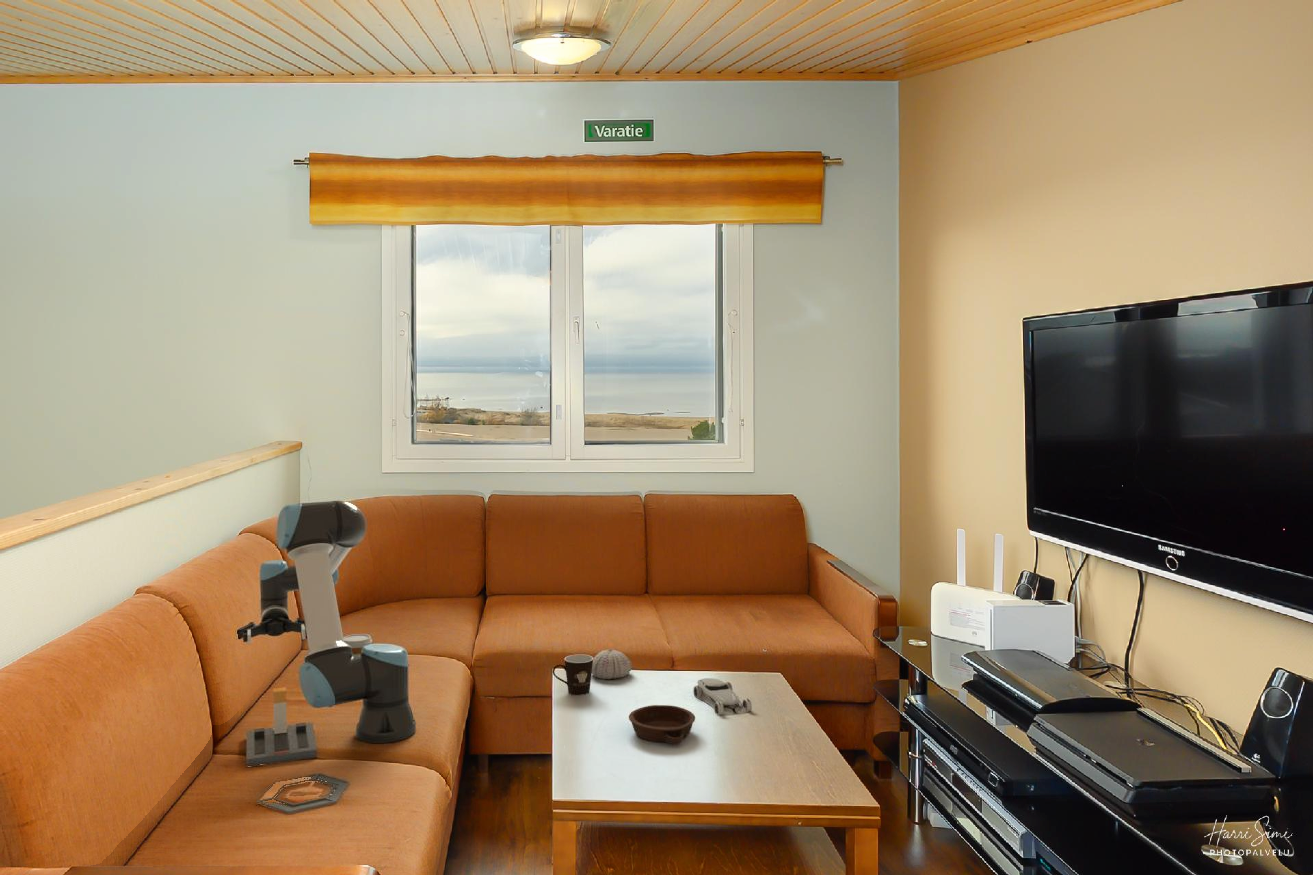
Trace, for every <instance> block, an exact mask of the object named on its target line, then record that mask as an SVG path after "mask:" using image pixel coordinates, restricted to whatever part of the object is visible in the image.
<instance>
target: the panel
mask: <svg viewBox="0 0 1313 875" xmlns="http://www.w3.org/2000/svg"><path fill="white" fill-rule="evenodd" d="M245 751H246V755H245V756H246V762H245V764H246V767H247V766H254V767H258V765H260V764H268V765H272V764H271V763H275V764H279V763H278V762H282V763H288V762H294V761H302V760H309V759H316V758H318V749H317V741H316V736H315V731H314V725H313V722H299V723H298V722H297V723H295V724H290V725H287V733H279V734H274V726H273V727H267V728H265V727H259V728H254V729H251V730H250V729H249V730H246V750H245Z"/></svg>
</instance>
